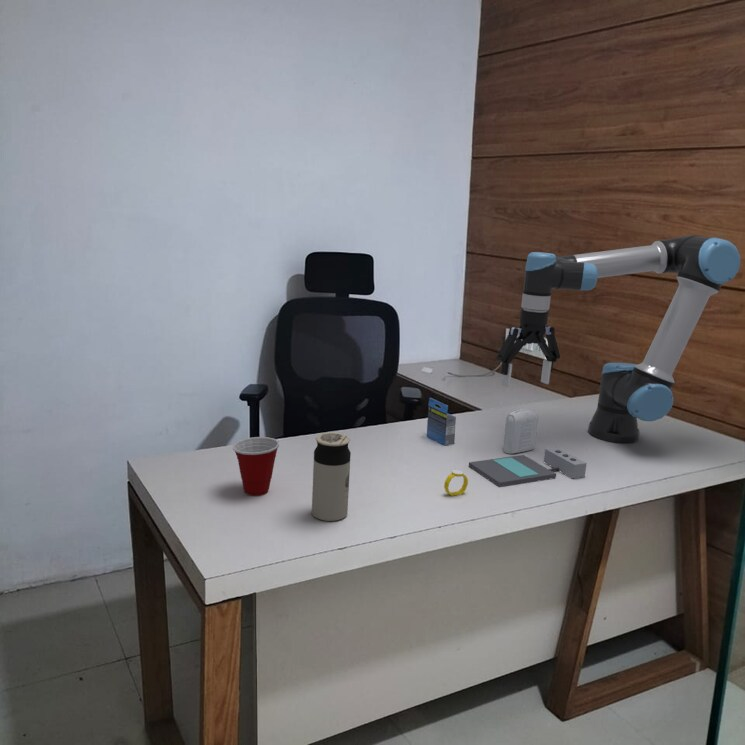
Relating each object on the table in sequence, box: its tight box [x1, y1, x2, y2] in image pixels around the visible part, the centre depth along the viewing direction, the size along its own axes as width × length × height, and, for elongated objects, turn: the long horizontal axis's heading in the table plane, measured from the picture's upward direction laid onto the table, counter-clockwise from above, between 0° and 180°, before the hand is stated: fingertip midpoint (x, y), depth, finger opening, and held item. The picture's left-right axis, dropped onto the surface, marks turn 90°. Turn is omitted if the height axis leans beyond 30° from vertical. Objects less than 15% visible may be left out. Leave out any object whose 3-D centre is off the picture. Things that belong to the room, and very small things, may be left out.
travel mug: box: [311, 431, 351, 522], centre depth 156 cm, size 8×8×18 cm
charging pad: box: [468, 454, 557, 488], centre depth 188 cm, size 18×14×1 cm
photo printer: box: [502, 408, 539, 455], centre depth 203 cm, size 10×4×12 cm, turn 123°
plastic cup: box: [232, 436, 280, 497], centre depth 166 cm, size 11×11×12 cm
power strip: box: [543, 447, 587, 479], centre depth 191 cm, size 9×12×4 cm
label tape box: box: [426, 397, 457, 446], centre depth 207 cm, size 9×4×12 cm, turn 34°
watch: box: [443, 469, 469, 497], centre depth 172 cm, size 6×3×6 cm, turn 118°
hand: (525, 384), depth 200 cm, fingers open, 13 cm apart
